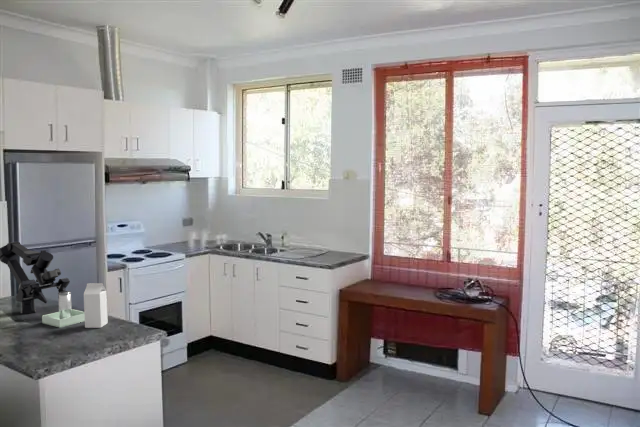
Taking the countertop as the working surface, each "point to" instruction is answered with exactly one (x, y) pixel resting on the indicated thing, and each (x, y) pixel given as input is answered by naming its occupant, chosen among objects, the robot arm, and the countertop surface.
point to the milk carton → (95, 305)
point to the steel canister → (64, 304)
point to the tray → (55, 321)
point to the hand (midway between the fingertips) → (56, 300)
